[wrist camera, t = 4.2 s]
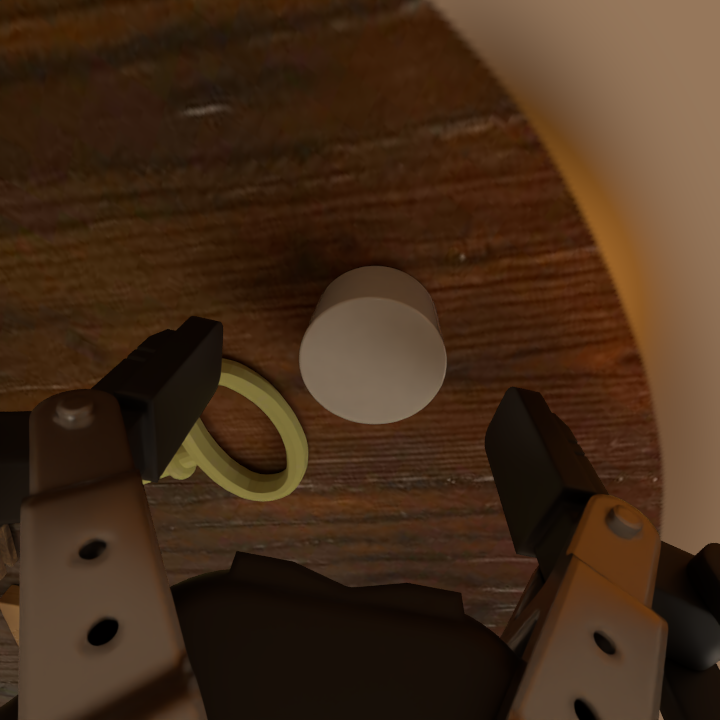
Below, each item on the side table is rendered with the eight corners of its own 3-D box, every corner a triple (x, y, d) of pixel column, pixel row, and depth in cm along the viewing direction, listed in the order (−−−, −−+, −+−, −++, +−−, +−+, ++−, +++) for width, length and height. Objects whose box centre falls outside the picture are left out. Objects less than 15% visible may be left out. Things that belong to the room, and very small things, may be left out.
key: (72, 472, 20) (40, 506, 18) (222, 334, 16) (200, 362, 14) (186, 544, 23) (168, 581, 21) (345, 444, 18) (340, 480, 16)
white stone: (454, 281, 14) (468, 317, 11) (417, 387, 16) (422, 437, 14) (325, 252, 14) (309, 280, 11) (306, 363, 16) (290, 409, 13)
